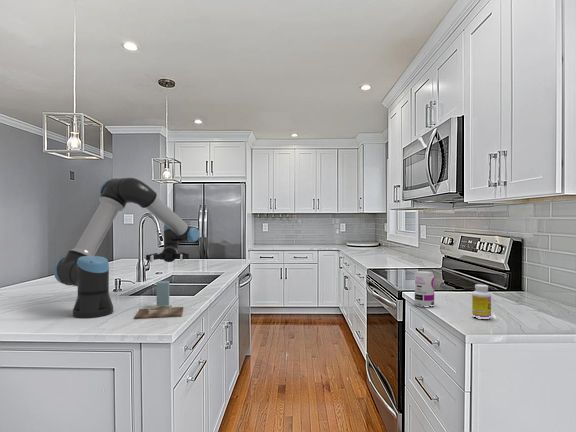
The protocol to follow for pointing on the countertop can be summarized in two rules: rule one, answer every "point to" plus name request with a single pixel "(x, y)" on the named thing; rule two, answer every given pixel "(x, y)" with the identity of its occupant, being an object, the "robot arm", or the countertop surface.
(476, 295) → the supplement bottle
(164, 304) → the blue-grey tall block
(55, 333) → the countertop surface
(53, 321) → the countertop surface
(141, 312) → the board
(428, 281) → the supplement can
